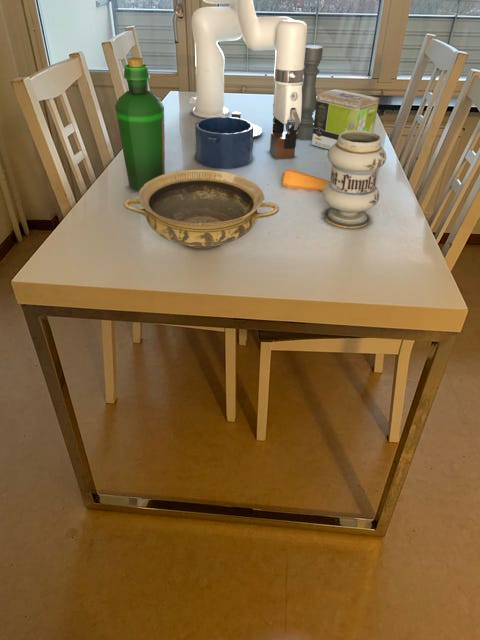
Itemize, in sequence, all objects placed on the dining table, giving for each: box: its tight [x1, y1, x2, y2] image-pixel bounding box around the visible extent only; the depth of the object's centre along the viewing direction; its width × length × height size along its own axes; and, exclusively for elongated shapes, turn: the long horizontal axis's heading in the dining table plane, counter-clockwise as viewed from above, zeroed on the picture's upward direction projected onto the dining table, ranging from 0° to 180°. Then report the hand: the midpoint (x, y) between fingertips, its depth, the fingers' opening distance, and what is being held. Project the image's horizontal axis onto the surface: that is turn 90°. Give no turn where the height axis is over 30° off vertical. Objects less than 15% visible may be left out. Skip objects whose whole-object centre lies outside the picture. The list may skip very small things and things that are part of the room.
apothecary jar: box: [322, 130, 387, 229], centre depth 102 cm, size 12×12×18 cm
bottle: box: [114, 56, 166, 193], centre depth 110 cm, size 11×11×28 cm
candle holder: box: [297, 44, 324, 140], centre depth 145 cm, size 6×6×25 cm
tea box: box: [311, 88, 380, 150], centre depth 140 cm, size 15×10×15 cm, turn 47°
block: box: [269, 131, 296, 160], centre depth 137 cm, size 6×6×6 cm
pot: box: [194, 116, 254, 169], centre depth 133 cm, size 16×21×9 cm
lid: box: [231, 111, 263, 139], centre depth 151 cm, size 17×17×6 cm
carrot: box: [280, 168, 330, 192], centre depth 119 cm, size 20×4×4 cm, turn 80°
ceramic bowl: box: [123, 169, 280, 249], centre depth 95 cm, size 30×24×10 cm
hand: (283, 142), depth 136 cm, fingers open, 9 cm apart
